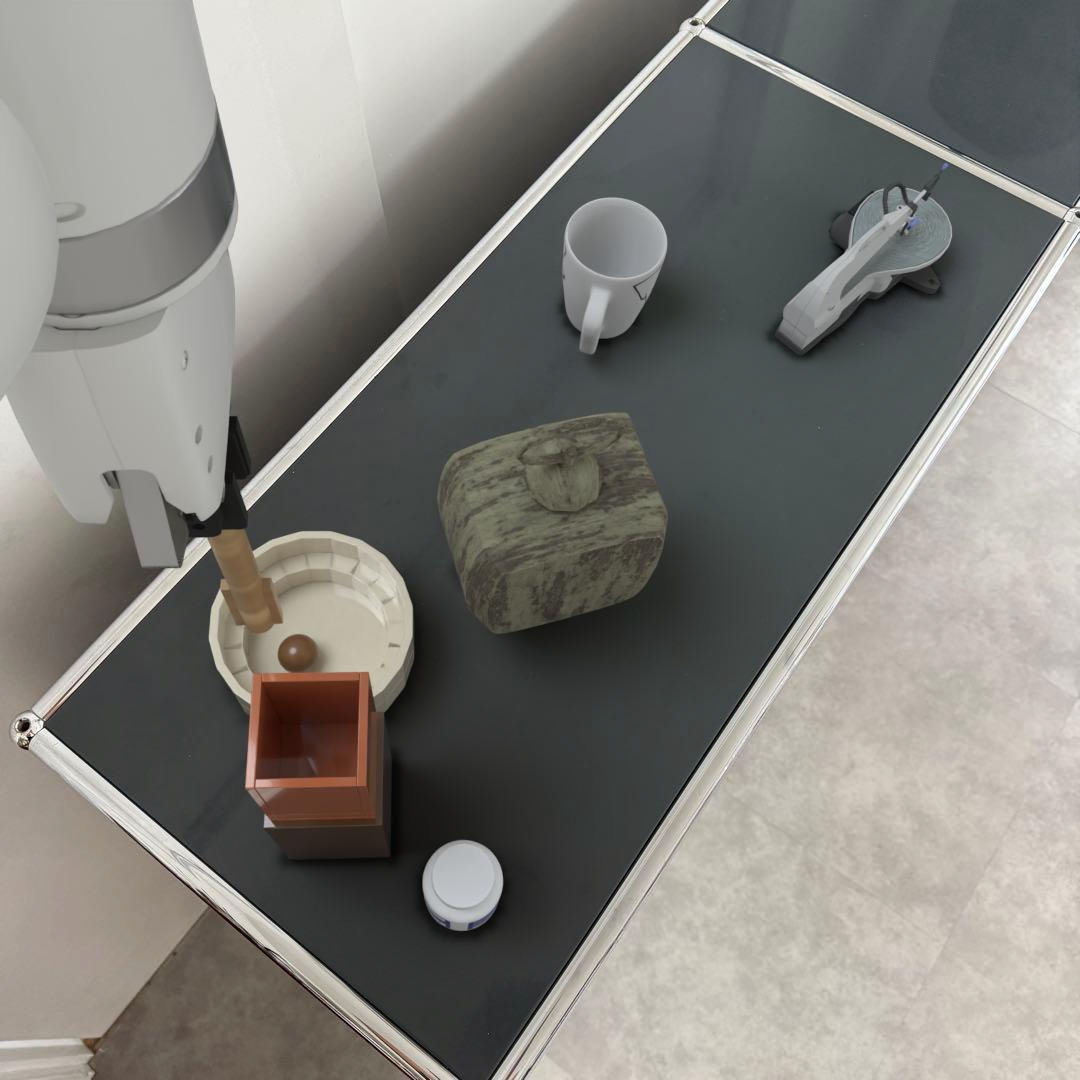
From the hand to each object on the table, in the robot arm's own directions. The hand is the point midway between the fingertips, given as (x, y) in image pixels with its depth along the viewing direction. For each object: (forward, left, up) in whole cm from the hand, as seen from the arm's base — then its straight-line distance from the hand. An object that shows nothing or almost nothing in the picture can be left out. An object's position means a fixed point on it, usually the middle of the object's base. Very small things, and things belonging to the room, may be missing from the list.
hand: (209, 496), depth 45 cm
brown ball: (-1, +6, -38) cm, 38 cm away
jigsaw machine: (+48, +42, -40) cm, 75 cm away
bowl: (0, +7, -40) cm, 40 cm away
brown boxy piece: (+2, -5, -40) cm, 40 cm away
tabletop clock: (+17, +12, -40) cm, 45 cm away
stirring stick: (0, 0, -14) cm, 14 cm away
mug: (+23, +37, -40) cm, 59 cm away
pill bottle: (+11, -11, -40) cm, 43 cm away
